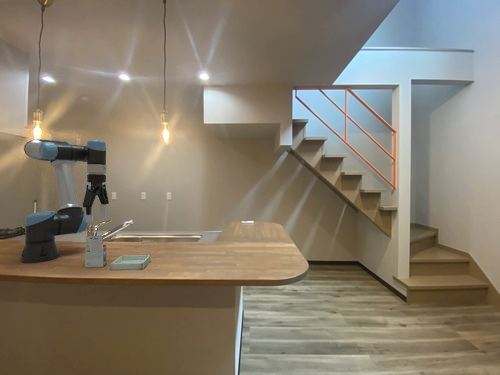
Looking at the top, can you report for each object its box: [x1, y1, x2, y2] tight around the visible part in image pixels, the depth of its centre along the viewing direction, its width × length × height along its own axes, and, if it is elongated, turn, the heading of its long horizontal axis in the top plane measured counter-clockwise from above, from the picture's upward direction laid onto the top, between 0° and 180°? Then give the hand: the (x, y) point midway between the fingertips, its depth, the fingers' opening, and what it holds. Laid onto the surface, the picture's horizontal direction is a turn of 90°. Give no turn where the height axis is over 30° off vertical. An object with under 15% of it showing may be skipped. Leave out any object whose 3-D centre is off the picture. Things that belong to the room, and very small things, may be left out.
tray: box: [109, 254, 151, 271], centre depth 126 cm, size 14×13×3 cm
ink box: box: [84, 235, 107, 269], centre depth 123 cm, size 4×8×15 cm, turn 96°
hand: (96, 219), depth 123 cm, fingers open, 13 cm apart
